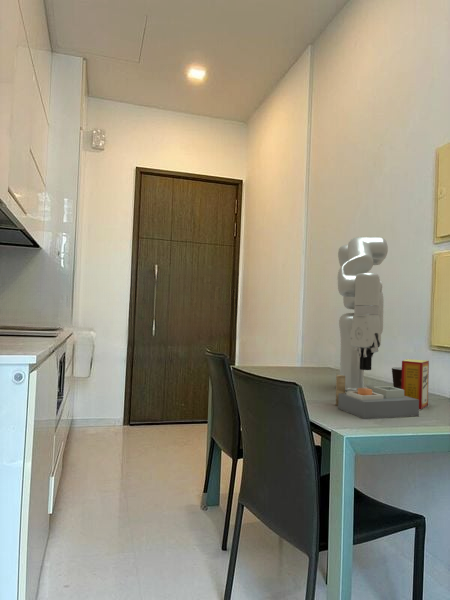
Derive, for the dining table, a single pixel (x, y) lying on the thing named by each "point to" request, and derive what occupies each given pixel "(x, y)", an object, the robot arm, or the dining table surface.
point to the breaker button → (364, 391)
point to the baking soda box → (416, 380)
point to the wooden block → (339, 386)
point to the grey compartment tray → (379, 403)
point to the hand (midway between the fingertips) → (365, 369)
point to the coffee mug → (397, 377)
